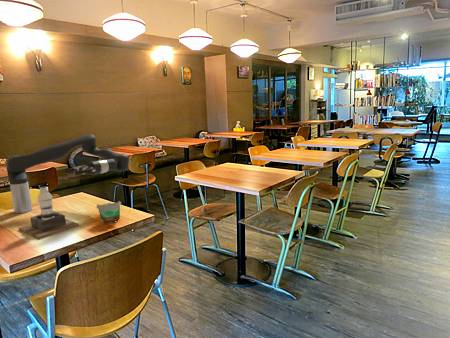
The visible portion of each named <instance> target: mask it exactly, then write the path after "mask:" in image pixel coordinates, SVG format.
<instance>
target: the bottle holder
mask: <svg viewBox="0 0 450 338" xmlns="http://www.w3.org/2000/svg"><path fill="white" fill-rule="evenodd" d="M53 212H54V216H55V217H53V218H50V219H47V220H41V218H42V217H41V214H38V215H34V216H31V217H30V223H29V224H26V225H21V226H19V227H18V231H21V232H23V233H25V234H27V235H29V236H31V237H34V238H35V239H38V240H42V239H45V238H48V237H50V236H53V235H56V234H60V233H62V232H65V231H69V230H71V229H74V228H77V227H80V223H79V222H75V221H72V220H70V219H68V218H66V215H65V214H63V213H61V212H57V211H55V210H53Z"/></svg>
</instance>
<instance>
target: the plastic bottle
mask: <svg viewBox="0 0 450 338" xmlns="http://www.w3.org/2000/svg"><path fill="white" fill-rule="evenodd" d="M39 192H40V193H39V194H38V196H37V200H38V204H39V208H40V215H41V217H42V218H41V220H47V219H50V218H53V217H55V216H54V212H55V211H54V207H53V196H52V194H51V193H50V192H49V187H48V186H41V187H39ZM53 211H54V212H53Z"/></svg>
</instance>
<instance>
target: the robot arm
mask: <svg viewBox="0 0 450 338" xmlns="http://www.w3.org/2000/svg"><path fill="white" fill-rule="evenodd" d="M79 146H81V147H80V148H81V150H82V152H84V153H86V154H88V155H92V156H94V157H98V158H101V159H100V160H94V161H89V162H88V163H87V165H86V164H85V165H78V166H72V167H71V168H67V169H66V174H71V173H74V175H75V176H79V175H89V174H90V175H91V176H94V175H99V174H100V175H101V174H104V173H107V172H112V171H113V172H115V171H116V172H126V171H128V170H129V163H130V157H129V155H128V154H125V153H118V152H116V151H114V150H112V149H110V148H102V149H100V148H98V147H97V140H96V136H95V135H94V134H91V133H88V134H87V133H86V134H83V135H81V136H78V137H75V138H73V139H70V140H66V141H63V142H60V143H59V142H58V143H55V144H52V145H48V146H45V147H43V148H41V149H39V150H37V151H35V152H32V153H28V154H24V155H23V154H22V155H19V154H18V155H17V154H13V155H10V156H8V157H7V158H6V160H5V167H6V172H7V177H8V182H9V186H10V187H9V188H10V193H11V200H12V206H13V212H14V213H16V214H23V213H24V214H25V213H28V212H31V211H32V210H33V205H32V200H31V199H32V198H31V193H30V187H29V179H28V175H27V171H26V170H28V169H30V168H32V167H35V166H38V165H42V164H47V163H51V162H55V161H58V160H61V159H63V158H65V157H66V156H67V155H69V154H70V152H71V151H72V150H73V149H75V148H76V147H79Z"/></svg>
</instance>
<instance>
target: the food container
mask: <svg viewBox="0 0 450 338" xmlns="http://www.w3.org/2000/svg"><path fill="white" fill-rule="evenodd" d="M121 206H122V203H121V201H120V200H118V202H108V203H107V202H106V203H104V204H97V205H96V209H98V213H99V217H100V221H102V222H103V224H111V223H110V222H114V223H116V222H115V221H117V222H119V221H120V220H121ZM119 219H120V220H119ZM118 220H119V221H118ZM102 222H101V223H102Z"/></svg>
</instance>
